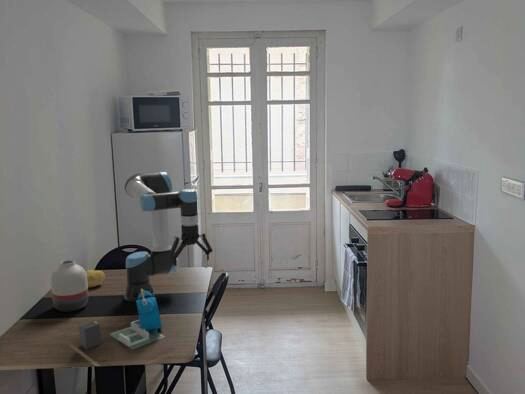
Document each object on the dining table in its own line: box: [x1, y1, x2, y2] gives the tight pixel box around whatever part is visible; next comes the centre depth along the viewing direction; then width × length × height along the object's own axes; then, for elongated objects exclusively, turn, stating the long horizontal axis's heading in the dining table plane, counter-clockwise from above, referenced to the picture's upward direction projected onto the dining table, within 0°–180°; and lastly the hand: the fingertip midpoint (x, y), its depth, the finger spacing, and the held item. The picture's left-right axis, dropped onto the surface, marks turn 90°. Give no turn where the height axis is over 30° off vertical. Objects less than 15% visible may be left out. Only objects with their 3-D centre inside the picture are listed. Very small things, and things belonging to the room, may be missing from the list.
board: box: [108, 326, 166, 350], centre depth 221 cm, size 20×16×1 cm
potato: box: [85, 269, 106, 289], centre depth 285 cm, size 10×14×10 cm
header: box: [118, 327, 149, 347], centre depth 217 cm, size 8×10×4 cm
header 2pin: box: [130, 318, 142, 332], centre depth 228 cm, size 6×7×3 cm
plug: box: [79, 320, 102, 350], centre depth 213 cm, size 5×7×10 cm
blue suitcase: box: [135, 289, 163, 335], centre depth 226 cm, size 17×10×20 cm, turn 15°
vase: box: [50, 259, 89, 313], centre depth 255 cm, size 17×17×24 cm
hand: (191, 269), depth 232 cm, fingers open, 13 cm apart
